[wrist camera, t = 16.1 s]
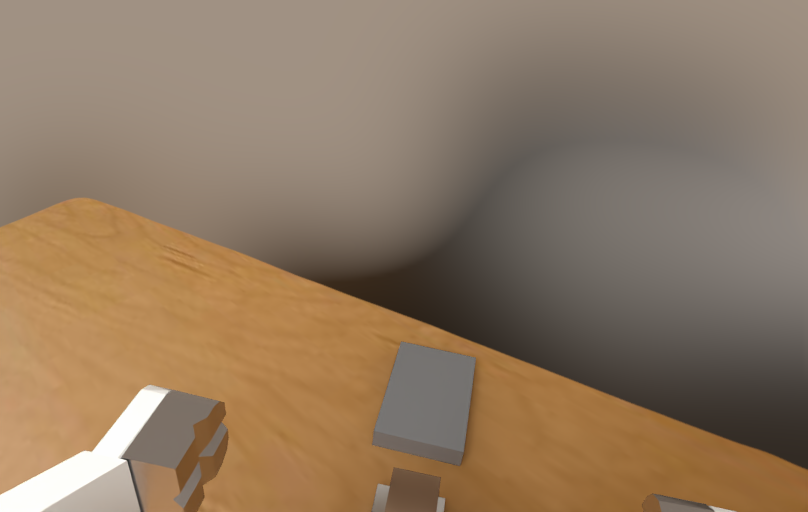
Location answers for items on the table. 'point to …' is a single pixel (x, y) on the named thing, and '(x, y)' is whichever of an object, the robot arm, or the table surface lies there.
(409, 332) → the table surface
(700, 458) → the table surface
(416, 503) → the brown and white bookend
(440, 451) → the tile
